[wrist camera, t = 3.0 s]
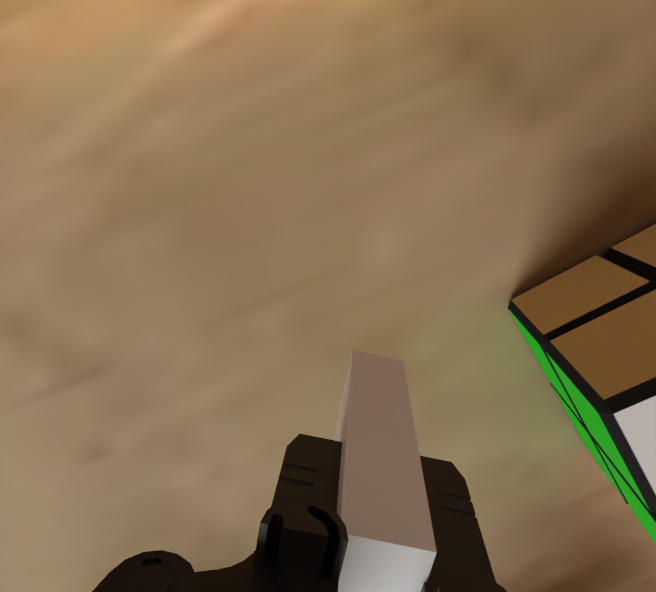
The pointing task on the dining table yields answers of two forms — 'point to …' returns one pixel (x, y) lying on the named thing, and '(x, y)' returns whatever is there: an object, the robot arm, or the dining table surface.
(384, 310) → the dining table surface
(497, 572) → the dining table surface
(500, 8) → the dining table surface
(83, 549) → the dining table surface
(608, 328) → the puzzle cube
